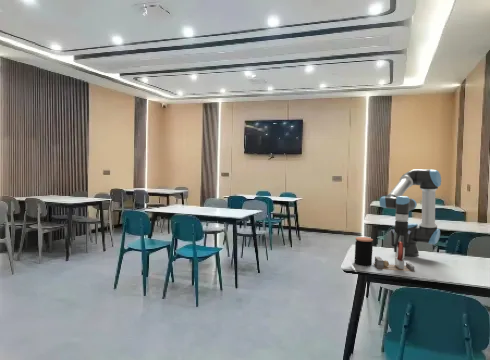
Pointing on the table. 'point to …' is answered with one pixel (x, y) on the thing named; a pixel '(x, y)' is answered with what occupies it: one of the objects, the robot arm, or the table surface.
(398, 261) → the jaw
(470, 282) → the table surface
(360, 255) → the coffee jar
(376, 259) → the board
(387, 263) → the nut
